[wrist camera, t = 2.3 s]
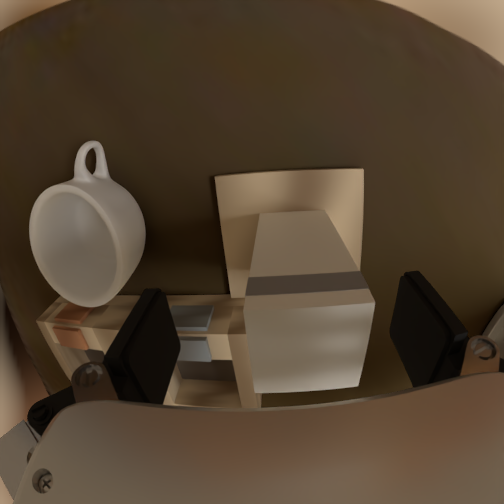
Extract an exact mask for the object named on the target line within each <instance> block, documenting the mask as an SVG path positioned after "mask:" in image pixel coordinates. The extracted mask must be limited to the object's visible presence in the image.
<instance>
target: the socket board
mask: <svg viewBox="0 0 504 504" xmlns="http://www.w3.org/2000/svg"><path fill="white" fill-rule="evenodd" d="M140 296H141V295H115V296H114V297H113V298H112V299H111V300H110V301H108V302H107V303H105V304H103V305H101V306H97V307H84V306H80V305H77V304H74V303H72V302H70V301H68V300H67V299H65V298H64V297H62V296H60V297H59V298H58V299H57V300H56V301H55V302H54V303H53V304H52V305H51V306H50V307H49V308H48V309H47V310H46V311H45V312H44V313H43V314H42V315H41V316H40V317H39V318H38V319H37V320H36V322H37V324H38V326H39V328H40V330H41V332H42V334H43V336H44V338H45V340H46V341H47V343H48V345H49V347H50V349H51V350H52V352H53V354H54V356H55V357H56V359H57V361H58V362H59V364H60V366H61V367H62V369H63V370H64V372H65V374H66V375H67V377H68V378H69V380H70V381H71V377H72V374H73V373H74V371H75V370H76V369H77V368H78V367H79V366H81V365H83V364H84V363H87V362H94V361H96V362H100V363H102V362H103V360H104V355H105V354H106V352H107V350H108V349H109V347H110V345H111V343H112V342H113V340H114V338H115V337H116V335H117V333H118V332H119V330H120V328H121V327H122V325H123V324H124V322H125V320H126V319H127V317H128V315H129V314H130V312H131V311H132V309H133V307H134V306H135V304H136V303H137V301H138V300H139V298H140ZM166 297H167V301H168V304H169V308H170V311H171V314H172V318H173V321H174V324H175V327H176V331H177V334H178V337H179V340H180V344H181V349H180V353H179V356H178V359H177V362H176V365H175V368H174V371H173V374H172V377H171V381H170V384H169V387H168V390H167V393H166V396H165V399H164V403H163V405H173V406H188V407H207V408H261V400H262V393H255V392H254V385H253V378H252V371H251V364H250V357H249V350H248V343H247V335H246V328H245V321H244V313H243V308H244V303H245V298H231V294H224V295H166Z"/></svg>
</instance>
